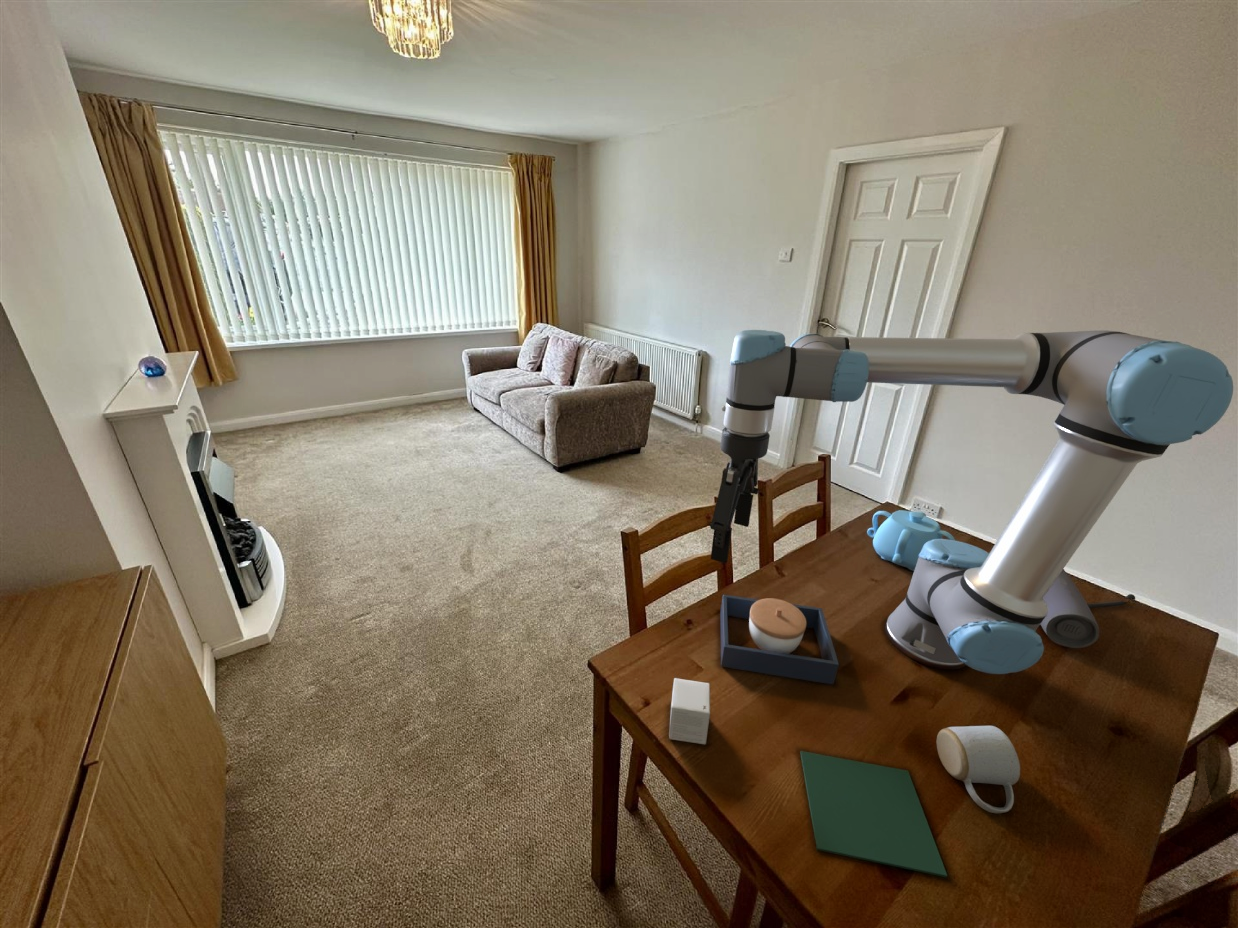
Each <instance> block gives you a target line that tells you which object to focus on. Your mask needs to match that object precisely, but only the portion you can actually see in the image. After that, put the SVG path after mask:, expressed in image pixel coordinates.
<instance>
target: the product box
mask: <svg viewBox="0 0 1238 928" xmlns="http://www.w3.org/2000/svg"><path fill="white" fill-rule="evenodd" d="M710 688H711V687H710V682H702V681H696V680H689V679H683V678H679V677H674V678H673V685H672V693H671V703H670V716H669V717H670V718H669V732H668V736H669V740H673V741H680V742H685V743H686V742H687V743H692V744H693V743H694V744H699V745H707V739H708V732H709V730H708V729H709V723H710V718H711V691H710V690H711V689H710Z"/></svg>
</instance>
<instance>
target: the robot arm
mask: <svg viewBox="0 0 1238 928" xmlns="http://www.w3.org/2000/svg"><path fill="white" fill-rule="evenodd" d="M729 361H730V362H729V369H728V379H727V380H728V381H727V388H726V389H727V390H726V398H725V405H722V407H721V410H722V412H724V415H723V426H724V428H723V429H721V430H722V431H721V438H720V439H721V440H720V450H721V452H723V453H724V454H725V455H727V456H728V457H729V458H730V460H729V461H730V462H727V464H726V466H725V467H724V468H723V470H722V475H721V481H720V486H719V489H718V494H717V497H716V502H715V507H714V511H713V515H712V518H711V521H709V522H708V526H709V527H710V530H713V536H712V545H711V552H710V560H713V561H716V562H719V563H723V564H728V560H729V555H730V554H729V553H730V548H731V547H730V545H731V540H732V531H733V527H732V522H733V524H735V525H738V526H741V527H745V528H746V527H747V528H748V527H749V526H750V519H751V513H752V506H753V500H754V495H758V494H759V492H760V491H759V490H760V488H758V485H759V483H758V481H759V480H758V479H759V477H758V476H759V459H762V458H764V457H765V456H766V455H767V454H768V449H769V442H770V437H771V435H770V433H769V432H770V431H771V430H772V427H773V420H774V414H775V407H776V406H775V405H776V399H777V397H782V398H791V399H793V398H794V399H804V400H814V401H824V402H827V401H828V402H832V403H837V402H838V403H839V402H841V403H843V402H844V403H845V402H847V403H848V402H849V403H853V402H856V401H858V400H859V399H861V397H862V396H863V394H864V392H865V390H866V387H867V383H872V384H873V383H874V384H900V385H906V384H907V385H928V386H929V385H932V386H958V387H959V386H960V387H982V388H983V387H984V388H986V387H987V388H1003V389H1004V390H1005V391H1006V392H1007V393H1009V394H1011V395H1027V396H1034V397H1039V398H1044V399H1047V400H1050V401H1052V402H1056V403H1059V404H1061V405H1063V406H1062V408H1061V410H1060V411H1059V413H1058V415H1057V417H1056V418H1055V420H1054V422H1053V426H1054V427H1055V429H1056V433H1058V436H1059V438H1058V440H1057V442H1056V444H1055V445H1054V447H1053V449H1052V450H1051V452H1050V454H1049V455H1048V457H1047V458H1046V460H1045V462H1044V463H1043V465H1042V467H1041V468H1040V469H1039V472H1038V473H1037V474H1036V477H1035V478H1034V480H1032V483H1031V484H1030V486H1029V488H1028V490H1027V491H1026V493H1025V494H1024V496H1023V498H1022V499H1021V501H1020V502H1019V504H1018V506H1017V507H1016V509H1015V511H1014V512H1013V514H1012V516H1011V517H1010V519H1009V520H1008V522H1007V523H1006V526H1005V527H1004V529H1003V530H1002V532H1001V534H1000V535H999V537H998V539H997V540H996V542H995V543H994V545H993V547H992V549H991V550H990V551H989V552H988V551H986V550H984V549H982V548H980V547H979V546H975V545H972V544H970V543H967V542H964V541H959V540H956V539H955V540H949V539H948V538H942V539H934V540H931V541H928V542H926V543H925V544H924V546H923V548H922V550H921V552H920V554H919V555H918V556H919V558H918V561H917V564H916V567H915V570H914V571H913V574H912V577H911V580H910V583H909V586H908V589H907V593H906V595H905V598H904V599H903V600H902V602H900V604H899V605H897V607H896V608H895V610H893V611H892V612H891V613H890V614H889V616H888V617H887V620H886V623H885V626H884V627H885V629H884V630H885V634H886V636H887V638H888V639H889V641H890V642H891V643H892V645H893V646H895V647H896V648H897V649H898V650H899V651H900V652H901V653H903V654H904V655H906V657H909V658H910V659H912V660H913V661H915V662H918V663H920V664H922V665H925V666H928V667H931V668H934V669H939V670H948V671H953V670H959V669H963V668H965V667H966V666H967V667H969V668H971V669H973V670H975V671H978V672H981V673H986V674H991V675H1007V674H1010V673H1019V672H1021V671H1025V670H1027V669H1029V668H1031V667H1033V666H1034V665H1035V664H1036V663H1038V662H1039V661H1040V659H1041V658H1042V656H1043V654H1044V651H1045V650H1044V649H1045V647H1044V646H1045V645H1044V644H1043V639H1042V637H1041V635H1040V634H1038V633H1037V629H1038V628H1039V627H1040V626H1041V625H1040V624H1041V622H1042V621H1043V619H1044V618H1045V617H1046V615H1047V613H1048V607H1047V605H1046V603H1045V601H1044V599H1043V597H1044V596H1045V594H1046V593H1047V591H1048V590H1049V588H1050V587H1051V586H1052V584H1053V583H1054V581H1055V580H1056V578H1057V577H1058V576H1059V574H1060V573H1061V571H1062V570H1063V569H1064V570H1065V567H1067V565H1068V563H1069V561H1070V560H1071V559H1072V557H1073V556H1074V554H1075V553H1076V552H1077V550H1078V549H1079V547H1080V546H1081V544H1083V541H1084V540H1085V539H1086V537H1087V536H1088V534H1089V533H1090V532H1091V530H1092V529H1093V527H1094V526H1095V525H1096V524H1097V522H1098V520H1099V519H1100V517H1101V516H1102V514H1103V513H1104V512H1105V510H1106V509H1107V507H1108V506H1109V505H1110V503H1111V502H1112V501H1113V499H1114V497H1115V496H1116V494H1117V493H1118V492H1119V490H1120V489H1121V488H1122V486H1123V485H1124V483H1125V482H1126V481H1127V479H1128V477H1130V475H1131V474H1132V472H1133V470H1134V469H1135V467H1136V466H1137V465H1138V464H1139V463H1141V462H1143V461H1147V460H1148V461H1149V460H1152V459H1156V458H1160V457H1163V455H1164V453H1165V452H1166V451H1167V449H1168V448H1169V446H1171V445H1173V444H1174V445H1175V444H1179V443H1185V442H1188V441H1190V440H1192V439H1193V436H1196V435H1200V436H1201V435H1203V434H1205V433H1206V432H1208V431H1209V430H1210V429H1212V428H1213V427H1214V426H1215V425H1216V424H1218V422H1219V421H1220V420H1221V419H1222V418H1223V416H1225V414H1226V412H1227V410H1228V408H1229V407H1230V404H1231V402H1232V400H1233V395H1234V394H1233V393H1234V381H1233V378H1232V375H1231V374H1230V373H1229V369H1228V367H1227V365H1226V364H1225V363H1224V362H1223V361H1222V360H1221V359H1220V357H1219V358H1218V357H1217V356H1216V355H1214V354H1213V353H1211V352H1209V351H1206V350H1204V349H1201V348H1197V347H1194V346H1191V345H1190V344H1186V343H1182V342H1180V341H1173V340H1163V339H1159V338H1152V337H1147V336H1142V335H1136V334H1131V333H1127V332H1124V331H1118V330H1117V331H1116V330H1078V331H1055V332H1053V331H1052V332H1022V333H1020V334H1017V336H1015V337H1014V338H1009V339H1008V338H951V337H950V338H946V337H945V338H944V337H943V338H942V337H941V338H940V337H877V336H873V337H872V336H846V337H845V336H823V334H819V333H805V334H801V335H799V336H798V337H796V338H795V339H794V340H793V341H792V342H791V344H790V345H787V344H786V336H785V334H784V333H782V332H780V331H774V330H766V329H746V330H745V329H744V330H741V331H739V332H738V333H737V334H736V335H735V336H734V338H733V343H732V349H731V355H730V359H729ZM1124 598H1127V599H1130V601H1131V600H1132V601H1135V600H1136V596H1135V595H1134V594H1132V593H1129V594H1127V595H1126V596H1125V597H1124ZM1121 600H1122V599H1120V600H1117V601H1109V602H1098V603H1097V602H1095V603H1087V605H1088V607H1089V609H1098V608H1111V607H1118V606H1119V607H1120V606H1124V605H1126V604H1128V603H1129V602H1130V601H1128V602H1123V601H1121Z"/></svg>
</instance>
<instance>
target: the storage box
mask: <svg viewBox="0 0 1238 928" xmlns="http://www.w3.org/2000/svg"><path fill="white" fill-rule="evenodd" d="M758 600H760V599H759V598H750V597H743V596H736V595H729V594H722V597H721V604H720V605H721V606H720V612H719V613H720V614H719V615H720V618H719V619H720V665H721V666H720V667H722V668H727V669H728V668H729V669H735V670H741V671H747V672H754V673H759V674H765V675H770V676H771V675H772V676H778V677H783V678H788V679H789V678H790V679H797V680H802V681H808V682H809V681H810V682H815V683H821V684H828V685H834V684H835V680H836V677H837V673H838V670H839V667H840V663H839V659H838V657H837V652H836V650H835V646H834V644H833V640H832V637H831V633H830V630H829V627H828V623H827V620H826V617H825V614H824V611H823V608H821V607H815V606H808V605H801V604H794V603H791V604H792V605H794V606H795V607H797V608H798V609H799V610H800V611H801V612H802V613H803V615H804V616H805V619H806V623H807V624H806V628H807V629H814V633H815V637H816V641H817V644H818V648H819V652H820V655H821V658H816V657H810V656H804V655H797V654H793V653H789V654H785V653H779V652H772V651H766V650H760V649H759V648H753V647H752V648H751V647H745V646H740V645H733V644H729V625H728V622H729V621H728V617H731V618H732V617H733V618H738V619H739V618H740V619H746V620H749V618H750V609H751V606H752V605H753V604H754V603H755V602H756V601H758Z"/></svg>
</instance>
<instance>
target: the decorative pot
mask: <svg viewBox="0 0 1238 928" xmlns="http://www.w3.org/2000/svg"><path fill="white" fill-rule="evenodd" d="M872 515H873V516H872V527H869V528H868V529H867V531H866V534H867V536H868V537H870V538H871V539H872V546H873V548H874V551H875V552H876V554H878V555H879V557H880V558H881V559H883V560H884V561H888V562H891V563H893V564H895V565H898V566H901V567H904V568H907V569H908V570H909V571H913V572H914V570H915V567H916V564H917V561H918V558H919V556H918V555H919V554H920V552H921V550H922V548H923V546H924V544H925V543H926V542H928V541H931V540H934V539H943V537H945V538H946V539H948V540H955V541H956V539H955V537H954V536H953V535H952V534H951V533H950V532H948V531H946V530H942V529H941V526H940V524H939V522H938V521H936V520H935V519H933V518H931V517H929V516H927V514H926V512H923V511H913V510H912V511H909V510H905V509H899V510H895V511H894V512H892V513H890V512H888V511H886V510H878V511H876V512H875V513H874V514H872ZM879 516H884V517H887V518H886V519H885V520H884V521H883V522H882V523H881V524H880V526H879V523H878V519H879V518H878V517H879Z"/></svg>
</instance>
